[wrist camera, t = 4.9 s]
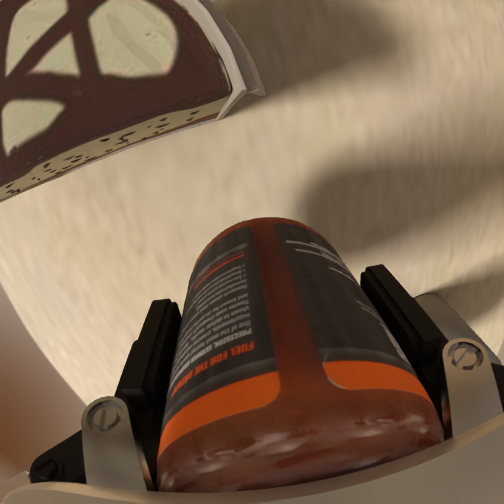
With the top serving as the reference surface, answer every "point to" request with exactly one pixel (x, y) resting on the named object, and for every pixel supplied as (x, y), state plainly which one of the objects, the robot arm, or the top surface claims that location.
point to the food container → (109, 80)
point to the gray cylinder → (451, 322)
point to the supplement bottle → (284, 370)
